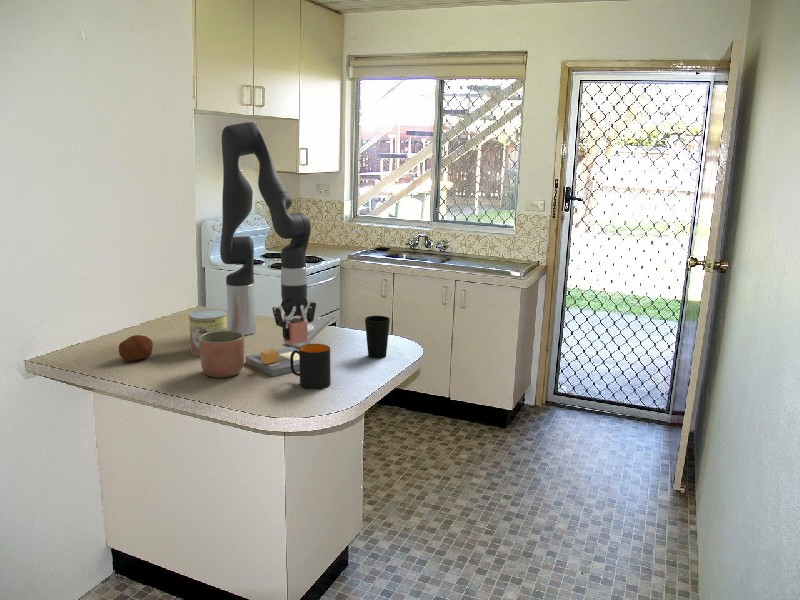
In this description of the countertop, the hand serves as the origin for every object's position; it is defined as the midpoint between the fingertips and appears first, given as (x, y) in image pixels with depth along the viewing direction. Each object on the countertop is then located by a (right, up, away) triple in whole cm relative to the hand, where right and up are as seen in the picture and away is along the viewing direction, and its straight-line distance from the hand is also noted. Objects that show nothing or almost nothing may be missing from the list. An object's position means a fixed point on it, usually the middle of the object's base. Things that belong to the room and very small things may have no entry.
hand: (295, 338), depth 200 cm
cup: (+24, -6, +9) cm, 26 cm away
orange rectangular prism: (-7, -7, -5) cm, 11 cm away
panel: (-4, -8, 0) cm, 9 cm away
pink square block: (0, -1, 0) cm, 1 cm away
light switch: (+1, -3, +22) cm, 22 cm away
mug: (+6, -12, -16) cm, 21 cm away
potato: (-48, -7, +3) cm, 49 cm away
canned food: (-29, -5, +12) cm, 32 cm away
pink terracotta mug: (-19, -10, -8) cm, 23 cm away
